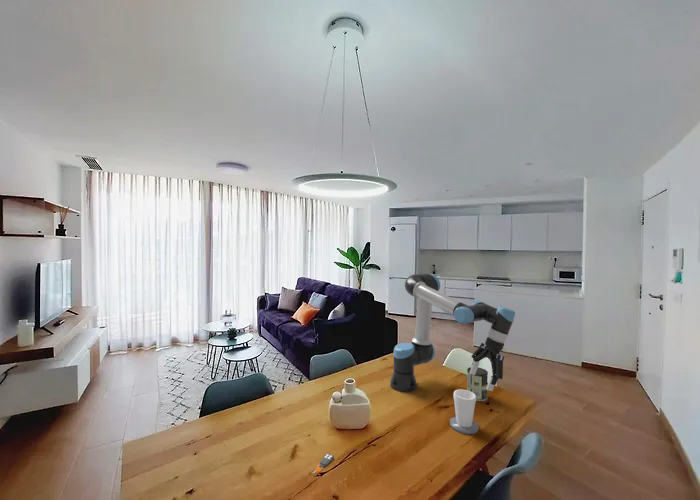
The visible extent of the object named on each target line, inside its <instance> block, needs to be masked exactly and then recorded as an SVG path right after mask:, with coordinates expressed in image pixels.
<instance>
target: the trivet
mask: <svg viewBox="0 0 700 500" xmlns="http://www.w3.org/2000/svg"><path fill="white" fill-rule="evenodd" d="M449 426H450V427H451V428H452V430H454V431H456V432H458V433H460V434H463V435H475V434H477V433H478V432H479V424H478V423H477V422H476V420H474V419H473V420H472V425H471V426H470V427H462V426H460V425H459V424H457V420H456V415H455V416H453V417H451V418H450V419H449Z"/></svg>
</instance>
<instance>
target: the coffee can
mask: <svg viewBox="0 0 700 500" xmlns="http://www.w3.org/2000/svg"><path fill="white" fill-rule="evenodd" d="M471 367H472V366H470V367H467V369H466V372H467V373H466V375H467V377H466V378H467V379H466V381H467V383H466V384H467V386H466V387H467V388H466V390H468V391H471V392H472V393H474V394H475V395H476V402H485V401H488V390H487V389H486V388H487V385H488V378H489V377H488V375H489V373H488V371H487V370H486V369H485V368H482V367H478V368H477V371H476V374H475V375H472V374H470V370H471Z"/></svg>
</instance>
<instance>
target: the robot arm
mask: <svg viewBox="0 0 700 500" xmlns="http://www.w3.org/2000/svg"><path fill="white" fill-rule="evenodd" d="M404 289H405V291H406V293H408V294H409V295H410V296H412V297H413V298H416V299H417V300H416V301H417V303H416V316H415V329H414V330H415V331H414V337H413V338H411V343H410V342H402V343H398V344H396V345H395V346H394V348H393V353H392V354H393V372H392V375H391V379H390V380H389V381H390V382H389V385H390V387H391V388H392V389H393V390H395V391H399V392H413V391H415V390H417V388H418V383H417V382H418V381H417V379H416V375H415V366H420V365H423V364H427V363H429V362H432V360H434V357H435V355H436V350H435V347H434V345H433V342H432V341H431V339H430V336H431V325H432V324H431V323H432V311H433V310H432V309H433V306H434V307H437V309H440V310H442V311H444V312H446V313H448V314H450V315H452V317H454V319H455V320H456V322H458V323H459V324H470V323H474V322H475V323H476V322H478V321H479V322H480V321H486V322H487V323H489V324H491V326H490V329H489V331H488V333H487V337H486V340H485V343H484V342H481V343H480V345H479V347H478V348H477V349H476V350H475V351H474V352H473V354H471V359H473V361H472V363H471V366H470V367H471V370H470V374H472V375H475V374H476V371H477V368H479V366H480V362H481V360H484V359H485V358H487V359H488V360H489V361H490V364H491V373H492V375H490V378H489V380H488V382H487V388H486V389H487V391H490V392H493V391H494V388H495V386H496V385H497V383H498V380H503V378H504V377H503V376H504V375H503V374H504V359H505V356H504V355H501V354H500V352H502V351H503V349H504V346H505V343H506V340H507V339H508V338H507V337H508V335H509V333H510V330H511V328H512V325H513V324H514V320H515V316H516V312H515V311H514V310H513V309H511V308H508V307H506V306H504V305H503V306H502V305H499V306H498V307H494V306H492V305H489V304H487V303H485V302H483V301H479V300H475V301H474V302H472V304H470V305H467V304H466V303H463V302H461V301H460V300H457V299H456V298H454V297H451V296H449V295H447V294H445V293H443V292H441V291H440V289H441V281H440V279H439V278H438V276H437V275H436V274H433V273H420V274H419V273H418V274H416V273H415V274H411V275H409V276H408V277H407V278H406V280H405V282H404Z"/></svg>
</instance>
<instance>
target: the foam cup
mask: <svg viewBox="0 0 700 500" xmlns="http://www.w3.org/2000/svg"><path fill="white" fill-rule="evenodd" d="M453 401H454V402H453V403H454V410H455V411H454V412H455V416H456V420H457V424H459V425H460V426H462V427H470V426H471V425H472V420H474V419H473V418H474V413H475V406H476V402H477V401H476V395H475V394H474V393H472V392H471V391H468V390H467V389H463V388H462V389H456V390H454V391H453Z"/></svg>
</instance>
